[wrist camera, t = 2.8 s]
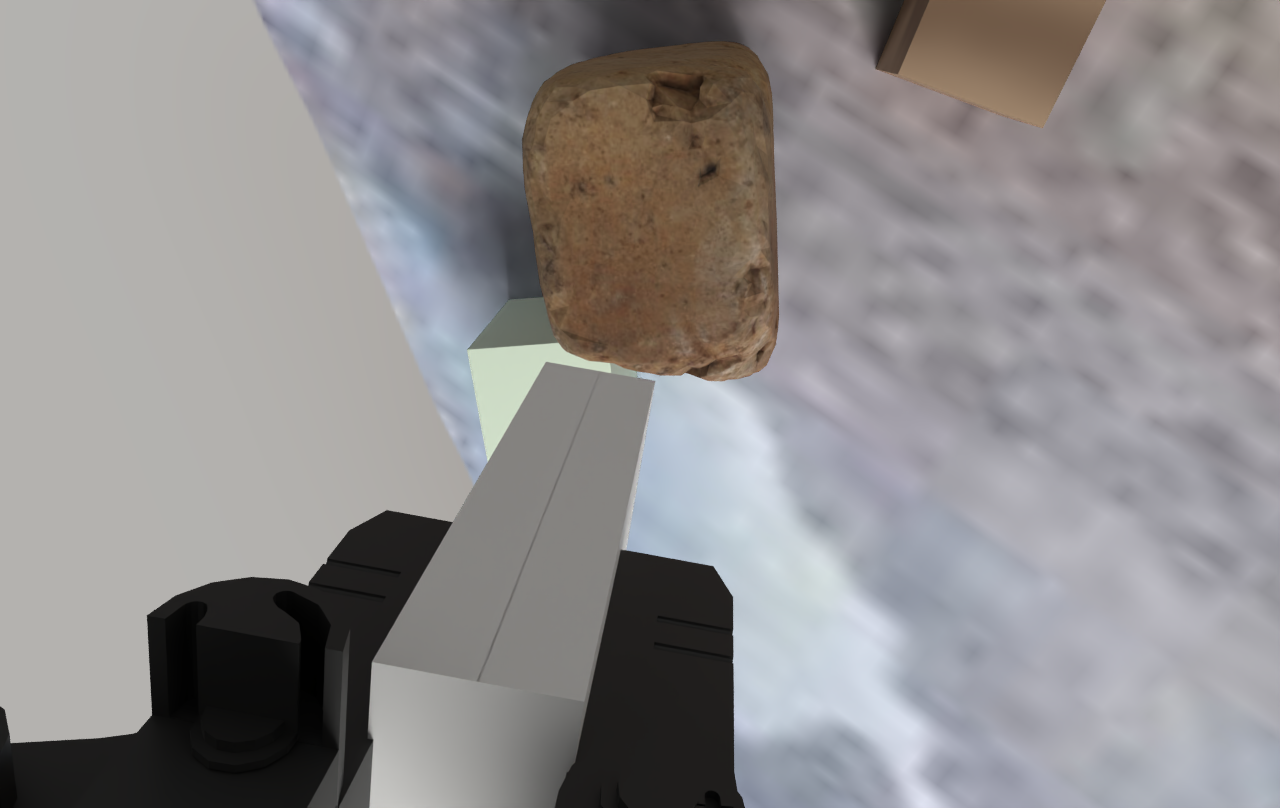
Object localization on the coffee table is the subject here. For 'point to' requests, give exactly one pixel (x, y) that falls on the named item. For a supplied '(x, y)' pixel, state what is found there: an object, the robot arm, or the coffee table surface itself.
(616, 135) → the pitted sandstone rock
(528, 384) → the green block
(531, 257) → the coffee table surface
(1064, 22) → the walnut block
